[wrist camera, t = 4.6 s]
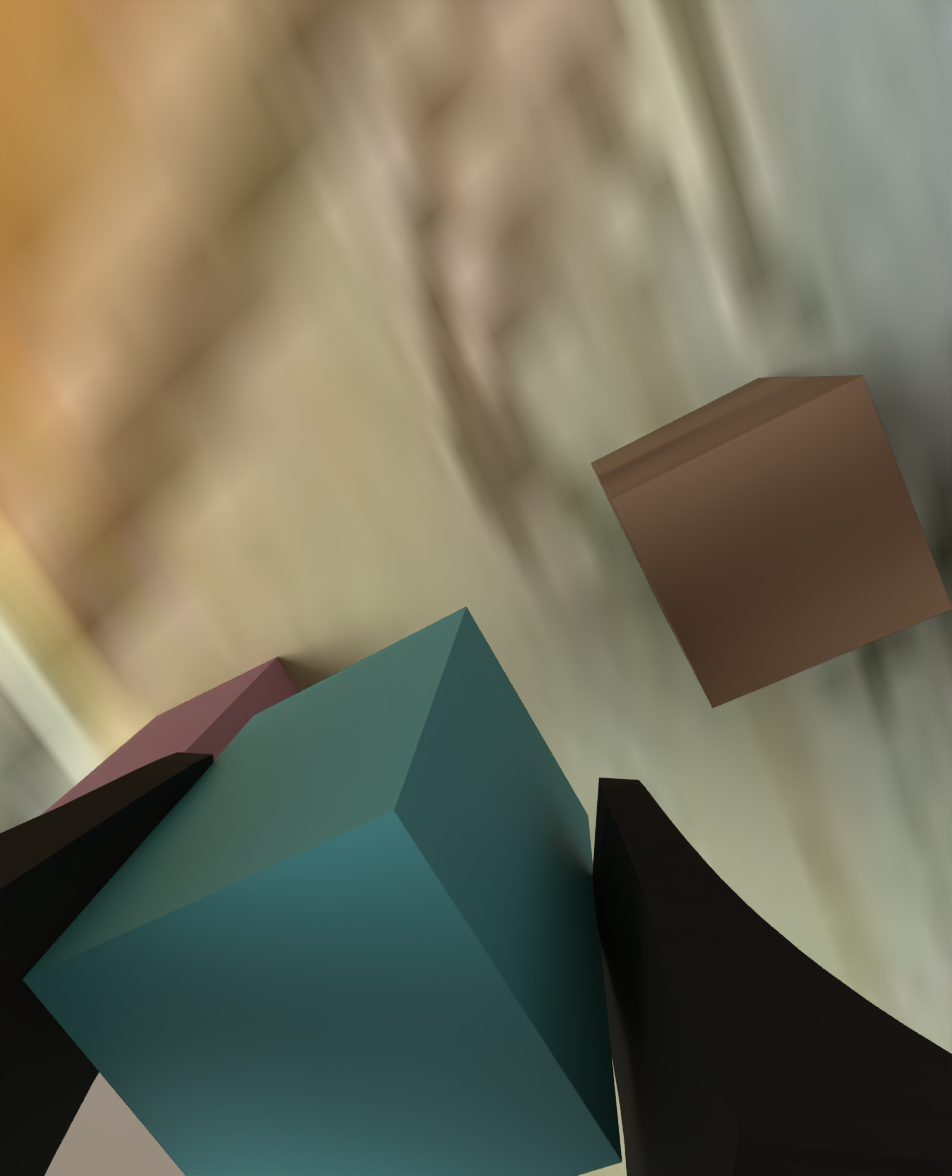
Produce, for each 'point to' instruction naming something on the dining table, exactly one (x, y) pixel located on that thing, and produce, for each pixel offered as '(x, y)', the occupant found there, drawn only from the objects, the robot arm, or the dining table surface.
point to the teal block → (359, 941)
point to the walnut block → (774, 530)
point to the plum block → (194, 725)
